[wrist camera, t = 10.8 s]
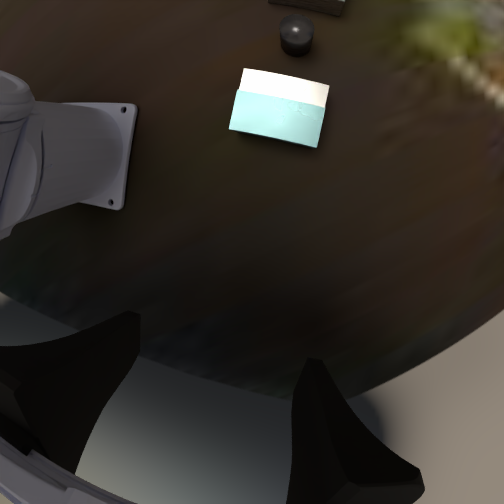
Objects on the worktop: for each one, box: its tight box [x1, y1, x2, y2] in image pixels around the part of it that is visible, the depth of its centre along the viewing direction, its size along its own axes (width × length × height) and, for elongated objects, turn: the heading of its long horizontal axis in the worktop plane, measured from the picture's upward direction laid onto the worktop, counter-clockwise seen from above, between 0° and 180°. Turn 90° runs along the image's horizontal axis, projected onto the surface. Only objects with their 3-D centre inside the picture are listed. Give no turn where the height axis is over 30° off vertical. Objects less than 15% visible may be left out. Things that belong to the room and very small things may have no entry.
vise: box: [229, 0, 345, 149], centre depth 15 cm, size 5×14×3 cm, turn 168°
